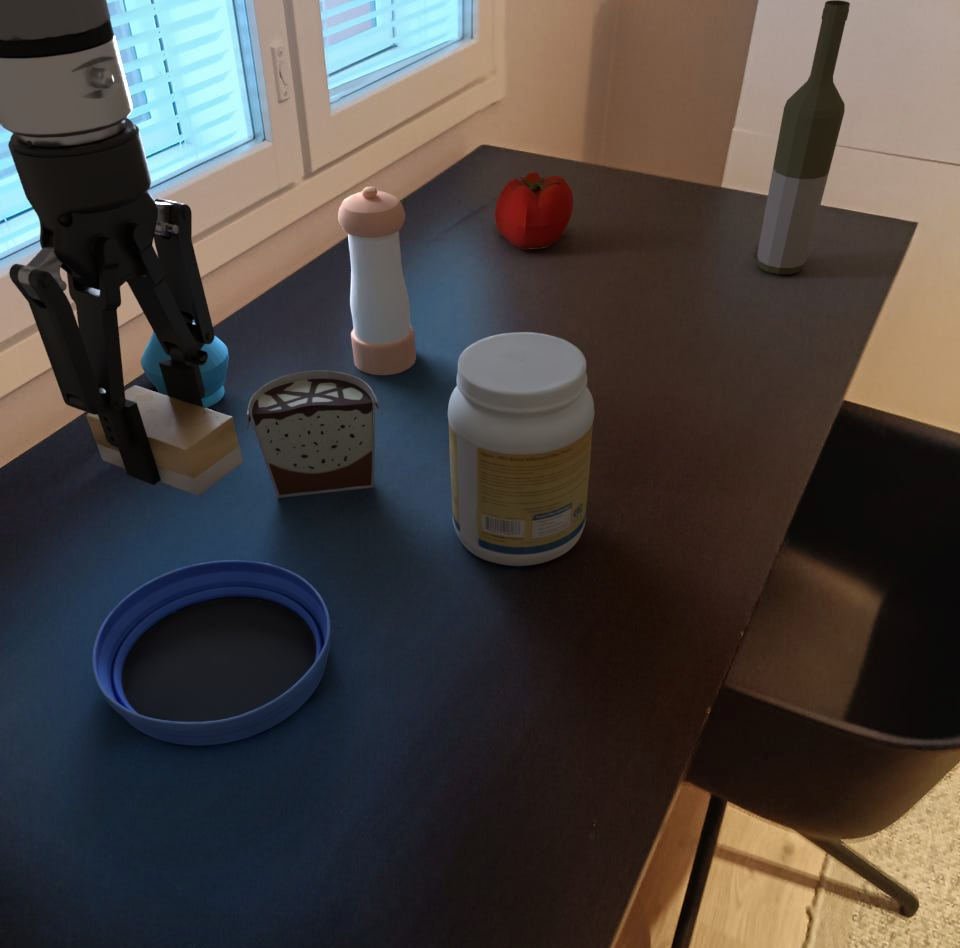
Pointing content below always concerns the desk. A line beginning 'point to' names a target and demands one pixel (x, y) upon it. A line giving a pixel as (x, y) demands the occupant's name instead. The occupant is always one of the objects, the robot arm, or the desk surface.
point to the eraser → (179, 440)
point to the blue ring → (213, 651)
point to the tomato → (534, 210)
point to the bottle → (804, 154)
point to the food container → (316, 432)
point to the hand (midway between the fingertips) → (170, 458)
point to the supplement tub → (520, 447)
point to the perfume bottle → (210, 371)
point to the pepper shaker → (377, 283)
